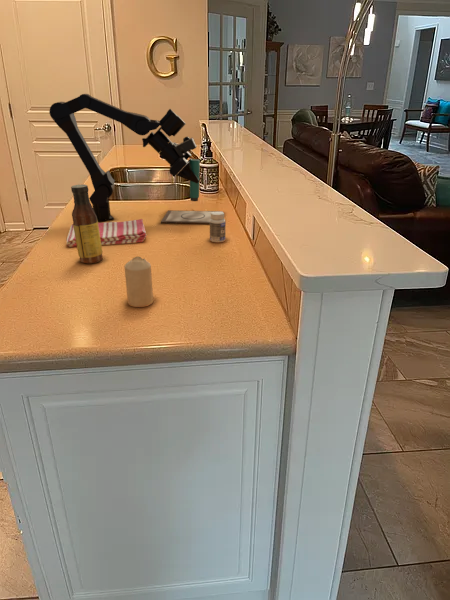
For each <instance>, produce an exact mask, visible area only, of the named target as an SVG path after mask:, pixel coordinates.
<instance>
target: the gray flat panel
mask: <svg viewBox="0 0 450 600" xmlns="http://www.w3.org/2000/svg"><path fill="white" fill-rule="evenodd" d="M217 211H219V212H224V211H223V210H221V211H220V210H170V209H169V210H167V212H166V213H165V215H164V216H163V218H161V220H160V224H164V225H165V224H167V225H168V224H169V225H171V224H172V225H210V219H212V218H211V213H212V212H217Z"/></svg>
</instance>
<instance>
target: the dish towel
mask: <svg viewBox="0 0 450 600" xmlns="http://www.w3.org/2000/svg"><path fill="white" fill-rule="evenodd" d="M98 226H99V233H100V239H101V246H106V245H107V246H110V245H122V244H123V245H125V244H137V243H144V240H146V238H147V235H148V234H147V232H146V227H145V224H144V220H143V218H140V219H132V220H124V221H109V222H107V221H105V222H98ZM65 244H66V246H67V247H69V248H72V247H77V244H76V238H75V232H74V227H73V223H72V224H71V225H70V228H69V231H68V233H67V237H66V243H65Z"/></svg>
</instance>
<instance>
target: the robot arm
mask: <svg viewBox="0 0 450 600" xmlns="http://www.w3.org/2000/svg"><path fill="white" fill-rule="evenodd" d="M84 109H88V110H90V111H92V112H94V113H97V114H99V115H102V116H104V117H106V118H108V119H111V120H113V121H116V122H118V123H120V124H122V125H123V126H124V127H126V128H127V129H129V130H131V131H132V132H133V133H135V134H137V135H139V136H146V135H148V136H146V137H142V138H141V140H142V147H143V148H145V147H147V146H148V145H149V146H151V148H153V150H154V151H155V152H156V153H157V154H158V155H159V156H160V158H161V159H162V160H165V162H167V163H168V164H169V174H170V175H171V176H172V177H174V178H175V177H179V178H182V179H185V180H188V181H189V182H190V181H192V182H195V183H199V184H200V180H201V178H200V177H199V179H198V178H197V177H196V175H195V174H194V172H193V171H192V170H191V168H190V160H191V159H192V157H191V156H192V154H191V152H189V151H193V150H196V148H197V147H198V145H197V144H196V142H195V140H194V138H193V137H189V136H185V137H183V139H182V142H180V143H178V144H177V142H174V141H172V140H171V139H170V138H169V137H176V135H178V133H180V131H181V130H182V129H183V128H184V127H185V125H187V124H186V121H184V120H183V118H182V117H181V116H180V115H178V114H177V113H176V112H175V111H174V110H173V109H171V108H169V109H168V110H167V111H166V113H165V114H164V115H163V116H162V118H160V120H157V119H150V117H149V116H147V115H144V114H142V113H137V112H131V111H128V110H124V109H121V108H119V107H117V106H116V105H115V106H114V105H112V104H110V103H108V102H105V101H103V100H101V99H98V98H96V97H94V96H91V95H90V94H89V93H82V94H80V95H79V96H77V97H75V98H72V99H70V100H68V101H66V102H65V101H57V102H53V103H52V104H51V105H50V107H49V111H48V112H49V116H50V117H51V119H52V120H53V122H54V123H55V124H56V125H57V127H59V128H60V129H61V130H62V131H63V132H64V134H65V135H66V136H67V138H68V139H69V141H70V143H71V145H72V146H73V148H74V150H75V151H76V153H77V155H78V157H79V159H80V160H81V161H82V164H83V165H84V167H85V169H86V170H87V172H88V174H89V176H90V180H91V184H92V187H93V189H94V191H93V192H92V193H91V195H90V197H89V200H90V203H91V205H92V208H93V210H94V212H95V214H96V216H97V220H98V222H104V221H105V222H106V221H111V220H115V217H113V216H112V215H111V206H110V199H109V198H110V197H111V196H112V195H113V193H114V191H115V189H116V186H115V185H116V184H115V181H116V179H114V178H113V177H112V174H111V172H110V170H106V171H105V170H104V169H103V168H102V167H101V166H100V164H99V162H98V160H97V159H96V157H95V155H94V153H93V152H92V149H90V147H89V144H88V143H87V141H86V139H85V138H84V136H83V134H82V132H81V130H80V129H79V126H78V123H77V119H76V115H75V113H77V112H79V111H82V110H84ZM154 130H157V131H155V132H153V131H154ZM150 131H151V132H150Z"/></svg>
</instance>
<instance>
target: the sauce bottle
mask: <svg viewBox="0 0 450 600" xmlns="http://www.w3.org/2000/svg"><path fill="white" fill-rule="evenodd" d="M70 188H71V193H72V195H73V196H72V197H73V203H74V206H73V209H72V211H71V218H72V224H73V227H74V232H75V238H76V244H77V246H76V249H77V255H78V257H79V261H80V263H84V264H96V263H99V262H100V261H102V260H103V245H101V239H100V233H99V226H98V223H99V221H98V220H97V216H96V214H95V212H94V210H93V206H92V203H91V201H90V199H89V198H90V197H89V186H88V185H87V184H84V183H83V184H74V185H71V186H70Z"/></svg>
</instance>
